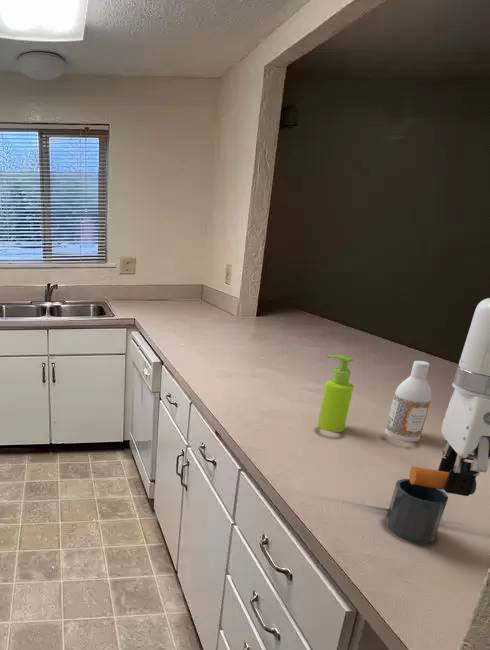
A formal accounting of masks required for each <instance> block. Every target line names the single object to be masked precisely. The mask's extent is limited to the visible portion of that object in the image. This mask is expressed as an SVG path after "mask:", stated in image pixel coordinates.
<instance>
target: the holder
mask: <svg viewBox="0 0 490 650" xmlns="http://www.w3.org/2000/svg"><path fill="white" fill-rule="evenodd" d="M394 485H395V486H394V489H393V492H392V496H391V500H390V503H389V506H388V510H387V515H386V518H385V525H386V527H387V528H388V530H390V531H391V532H392V533H393V534H395V535H396V536H398V537H399V538H402V539H404V540H406V541H410V542H413V543H418V544H419V543H420V544H428V543H429V544H430V543H432V542H433V541H434V540H435V539H436V536H437V533H438V530H439V527H440V525H441V521H442V518H443V515H444V513H445V508H446V506H447V503H448V500H449V496H448V495H447V492H445V490H442V489H436V488H430V487H424V486H419V485H413V484H411V483H410V479H409V478H402V479H398V480H397V481H396V482H395V484H394Z"/></svg>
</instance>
